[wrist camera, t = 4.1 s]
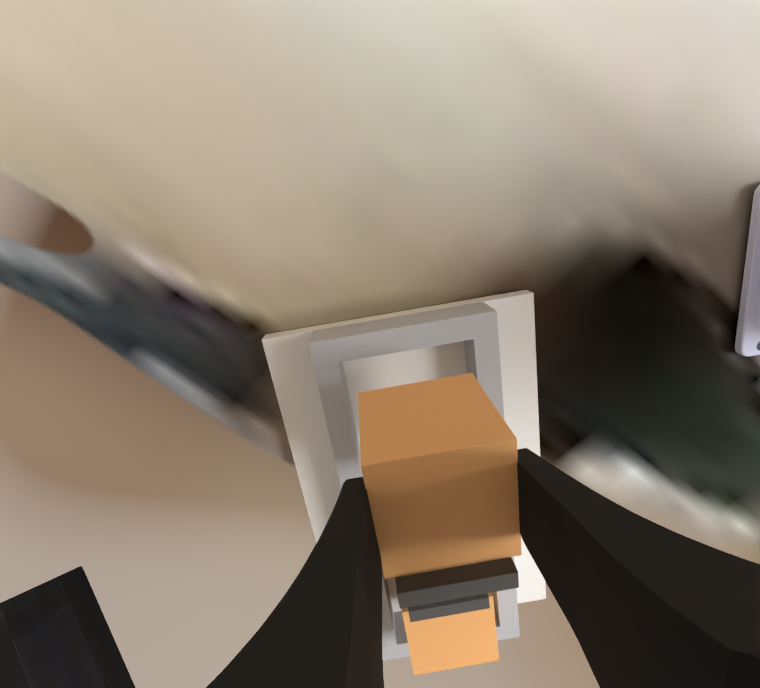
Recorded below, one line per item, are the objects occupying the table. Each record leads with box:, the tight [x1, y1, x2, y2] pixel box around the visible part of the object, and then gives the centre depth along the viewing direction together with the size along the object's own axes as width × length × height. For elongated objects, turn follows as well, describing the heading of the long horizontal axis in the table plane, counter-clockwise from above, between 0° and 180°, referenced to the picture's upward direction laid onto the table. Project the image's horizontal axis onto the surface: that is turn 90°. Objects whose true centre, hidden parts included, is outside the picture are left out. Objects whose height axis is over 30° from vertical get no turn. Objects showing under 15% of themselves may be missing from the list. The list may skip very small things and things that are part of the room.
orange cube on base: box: [358, 373, 522, 609], centre depth 12 cm, size 4×5×4 cm
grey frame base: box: [262, 290, 546, 675], centre depth 18 cm, size 12×18×5 cm, turn 9°
